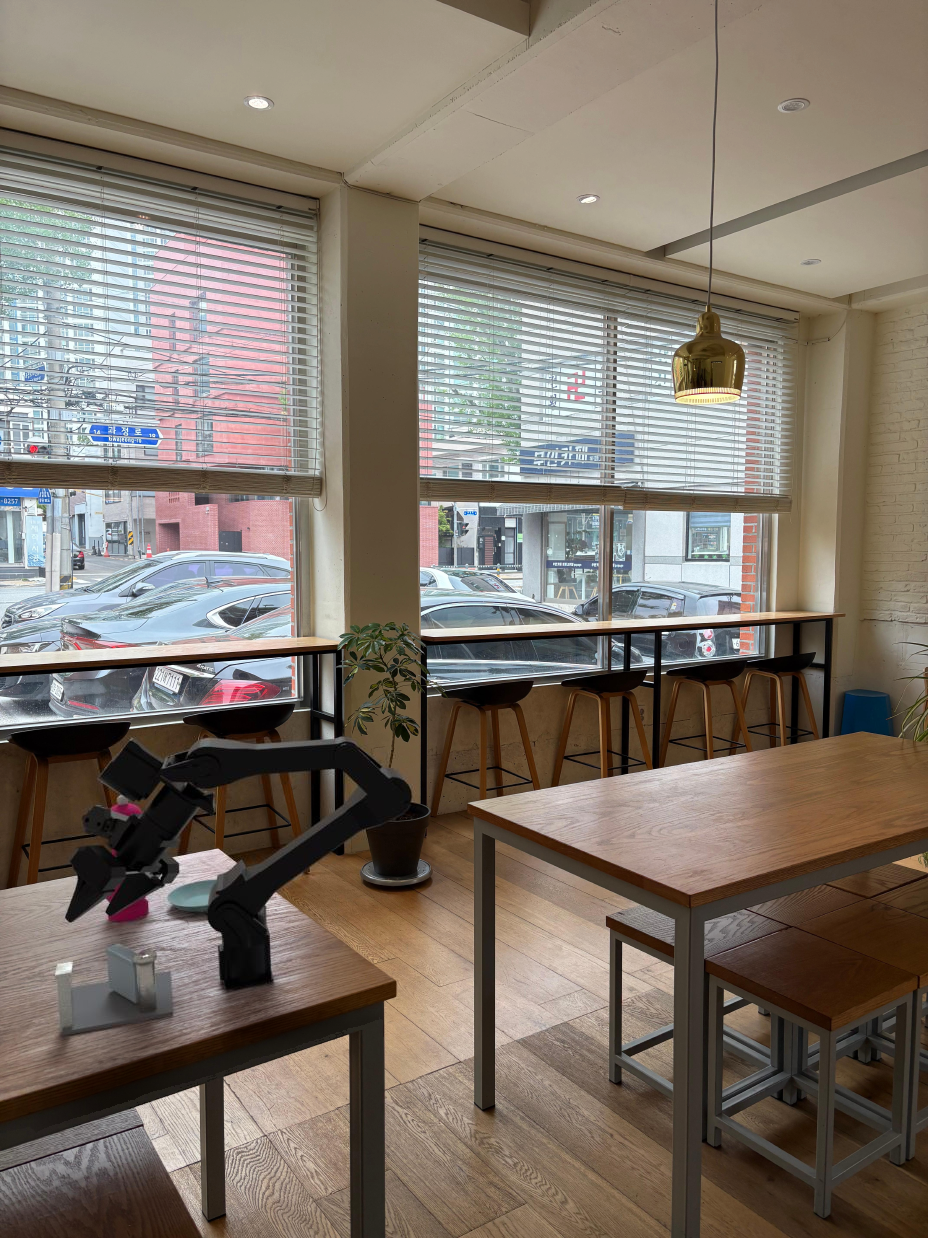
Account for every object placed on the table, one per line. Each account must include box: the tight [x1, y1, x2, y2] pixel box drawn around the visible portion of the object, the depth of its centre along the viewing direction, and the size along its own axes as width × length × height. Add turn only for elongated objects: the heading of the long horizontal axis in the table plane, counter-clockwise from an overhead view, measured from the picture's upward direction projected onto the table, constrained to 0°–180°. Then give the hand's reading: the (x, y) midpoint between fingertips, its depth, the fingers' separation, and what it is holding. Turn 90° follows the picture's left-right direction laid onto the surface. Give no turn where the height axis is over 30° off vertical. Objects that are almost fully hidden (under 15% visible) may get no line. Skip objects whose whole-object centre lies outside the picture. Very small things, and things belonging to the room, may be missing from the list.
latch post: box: [54, 961, 74, 1035], centre depth 111 cm, size 2×3×8 cm, turn 20°
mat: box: [61, 970, 174, 1037], centre depth 117 cm, size 13×12×1 cm
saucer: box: [167, 879, 217, 913], centre depth 151 cm, size 12×12×2 cm
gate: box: [105, 943, 138, 1003], centre depth 118 cm, size 7×2×6 cm, turn 50°
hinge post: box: [134, 949, 158, 1013], centre depth 115 cm, size 3×3×8 cm
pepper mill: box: [105, 794, 150, 923], centre depth 146 cm, size 7×7×20 cm
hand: (88, 917), depth 119 cm, fingers open, 9 cm apart
